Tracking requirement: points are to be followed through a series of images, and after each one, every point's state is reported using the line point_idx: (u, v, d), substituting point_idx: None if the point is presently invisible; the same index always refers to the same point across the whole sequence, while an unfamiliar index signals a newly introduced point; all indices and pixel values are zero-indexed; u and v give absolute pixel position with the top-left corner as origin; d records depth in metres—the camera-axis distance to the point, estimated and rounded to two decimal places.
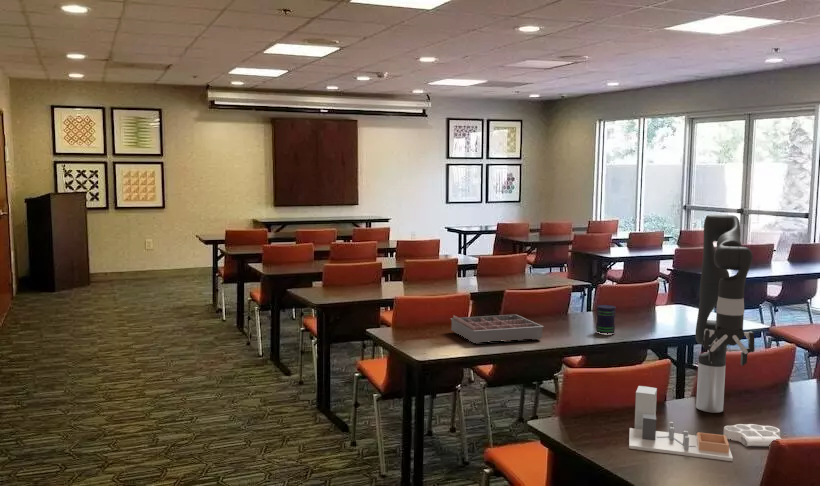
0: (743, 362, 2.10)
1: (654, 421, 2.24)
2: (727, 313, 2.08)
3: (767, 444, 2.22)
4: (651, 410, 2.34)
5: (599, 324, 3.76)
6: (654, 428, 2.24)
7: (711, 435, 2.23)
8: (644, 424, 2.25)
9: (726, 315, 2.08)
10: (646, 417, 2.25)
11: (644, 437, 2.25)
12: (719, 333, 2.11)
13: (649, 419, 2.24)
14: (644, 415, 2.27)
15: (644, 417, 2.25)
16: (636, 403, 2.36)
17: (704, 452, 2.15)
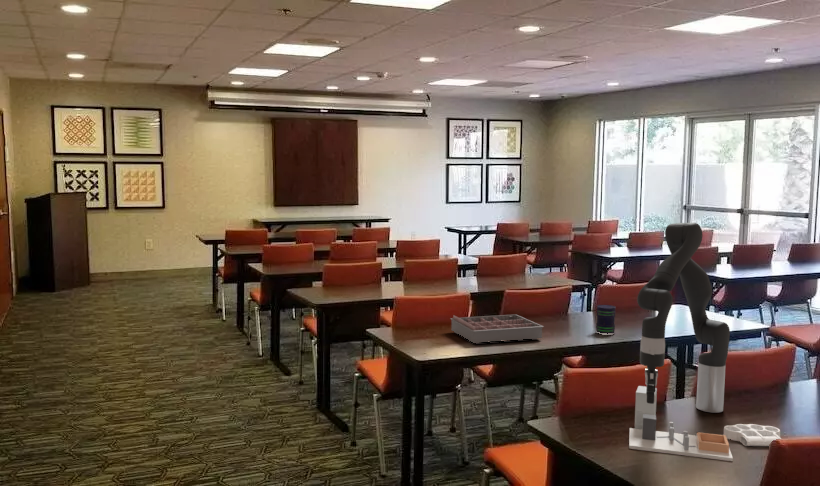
0: None
1: (654, 421, 2.24)
2: (664, 351, 2.21)
3: (767, 444, 2.22)
4: (651, 410, 2.34)
5: (599, 324, 3.76)
6: (654, 428, 2.24)
7: (711, 435, 2.23)
8: (644, 424, 2.25)
9: (663, 353, 2.21)
10: (646, 417, 2.25)
11: (644, 437, 2.25)
12: (655, 373, 2.21)
13: (649, 419, 2.24)
14: (644, 415, 2.27)
15: (644, 417, 2.25)
16: (636, 403, 2.36)
17: (704, 452, 2.15)
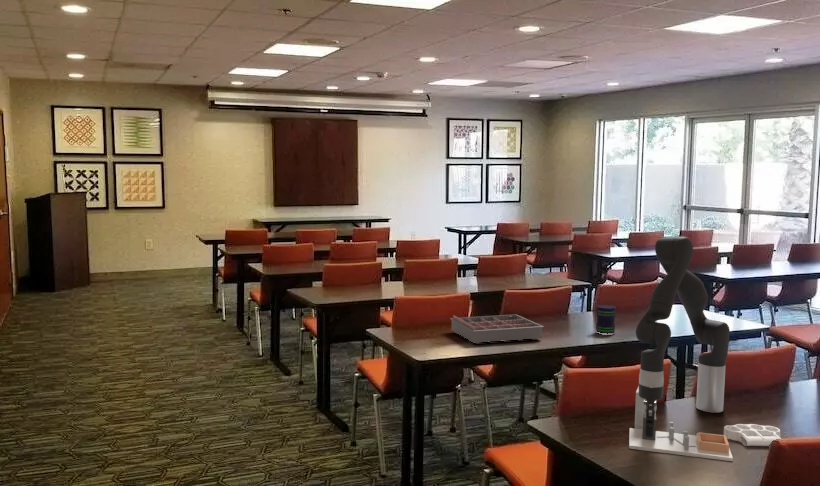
0: None
1: (654, 421, 2.24)
2: (662, 384, 2.22)
3: (767, 444, 2.22)
4: None
5: (599, 324, 3.76)
6: (654, 428, 2.24)
7: (711, 435, 2.23)
8: (644, 424, 2.25)
9: (662, 386, 2.22)
10: None
11: (644, 437, 2.25)
12: (654, 406, 2.22)
13: None
14: None
15: (644, 417, 2.25)
16: (636, 403, 2.36)
17: (704, 452, 2.15)
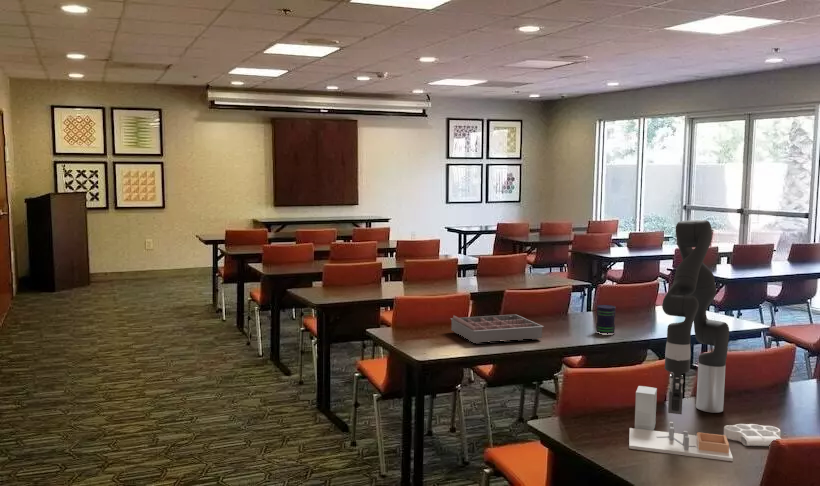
0: None
1: None
2: (689, 357, 2.20)
3: (767, 444, 2.22)
4: (651, 410, 2.34)
5: (599, 324, 3.76)
6: (680, 402, 2.21)
7: (711, 435, 2.23)
8: (670, 398, 2.22)
9: (689, 359, 2.20)
10: None
11: (670, 411, 2.23)
12: (680, 379, 2.20)
13: None
14: (670, 389, 2.25)
15: (670, 391, 2.23)
16: (636, 403, 2.36)
17: (704, 452, 2.15)
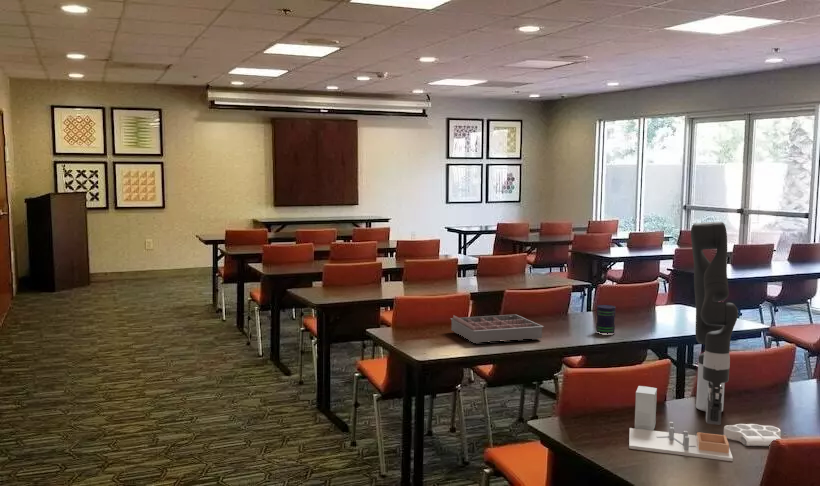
0: None
1: None
2: None
3: (767, 444, 2.22)
4: (651, 410, 2.34)
5: (599, 324, 3.76)
6: (719, 412, 2.16)
7: (711, 435, 2.23)
8: (709, 408, 2.17)
9: (728, 369, 2.15)
10: None
11: (709, 421, 2.18)
12: (720, 389, 2.15)
13: None
14: (708, 399, 2.20)
15: (709, 401, 2.18)
16: (636, 403, 2.36)
17: (704, 452, 2.15)
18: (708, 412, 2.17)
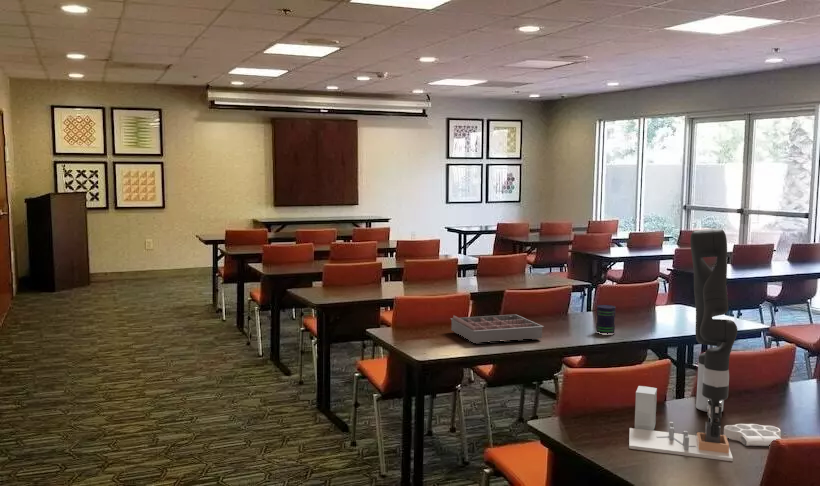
0: None
1: None
2: (728, 384, 2.15)
3: (767, 444, 2.22)
4: (651, 410, 2.34)
5: (599, 324, 3.76)
6: (718, 436, 2.17)
7: None
8: (708, 432, 2.18)
9: (728, 386, 2.15)
10: (710, 425, 2.19)
11: None
12: None
13: None
14: (707, 423, 2.20)
15: (708, 425, 2.19)
16: (636, 403, 2.36)
17: (704, 452, 2.15)
18: (707, 436, 2.18)
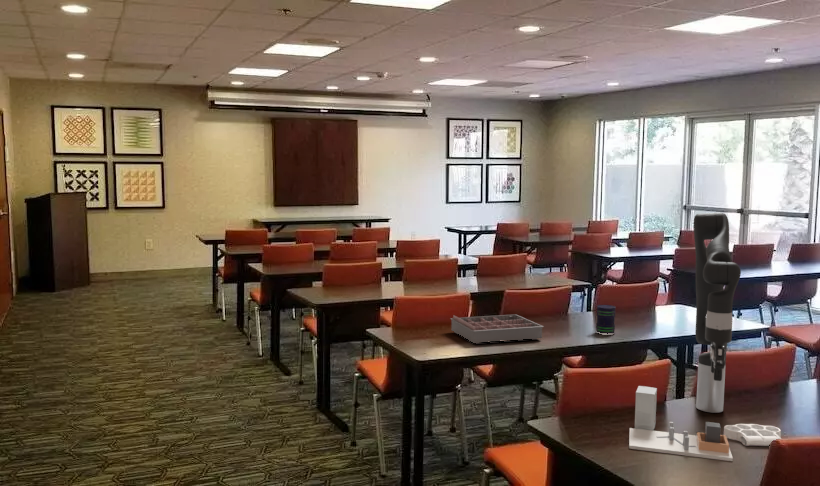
0: None
1: (718, 429, 2.17)
2: (731, 327, 2.14)
3: (767, 444, 2.22)
4: (651, 410, 2.34)
5: (599, 324, 3.76)
6: (718, 436, 2.17)
7: None
8: (708, 432, 2.18)
9: (731, 329, 2.13)
10: (710, 425, 2.19)
11: None
12: None
13: (713, 427, 2.17)
14: (707, 423, 2.20)
15: (708, 425, 2.19)
16: (636, 403, 2.36)
17: (704, 452, 2.15)
18: (707, 436, 2.18)
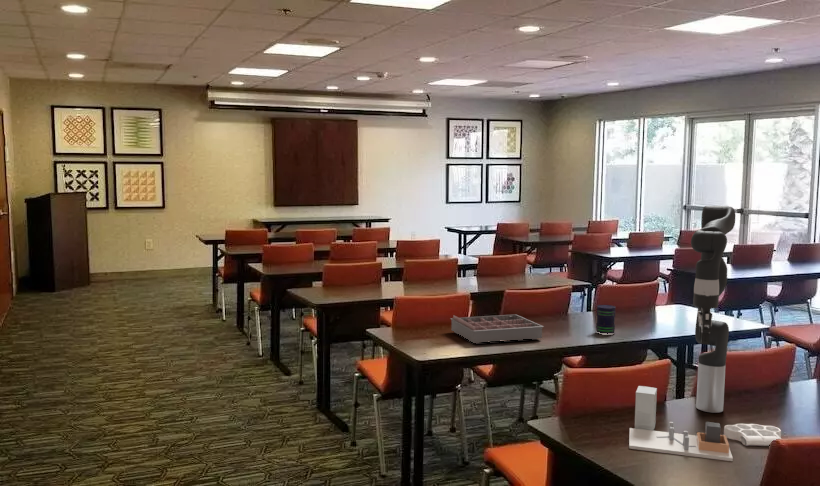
0: None
1: (718, 429, 2.17)
2: (718, 293, 2.24)
3: (767, 444, 2.22)
4: (651, 410, 2.34)
5: (599, 324, 3.76)
6: (718, 436, 2.17)
7: None
8: (708, 432, 2.18)
9: (718, 295, 2.24)
10: (710, 425, 2.19)
11: None
12: None
13: (713, 427, 2.17)
14: (707, 423, 2.20)
15: (708, 425, 2.19)
16: (636, 403, 2.36)
17: (704, 452, 2.15)
18: (707, 436, 2.18)
